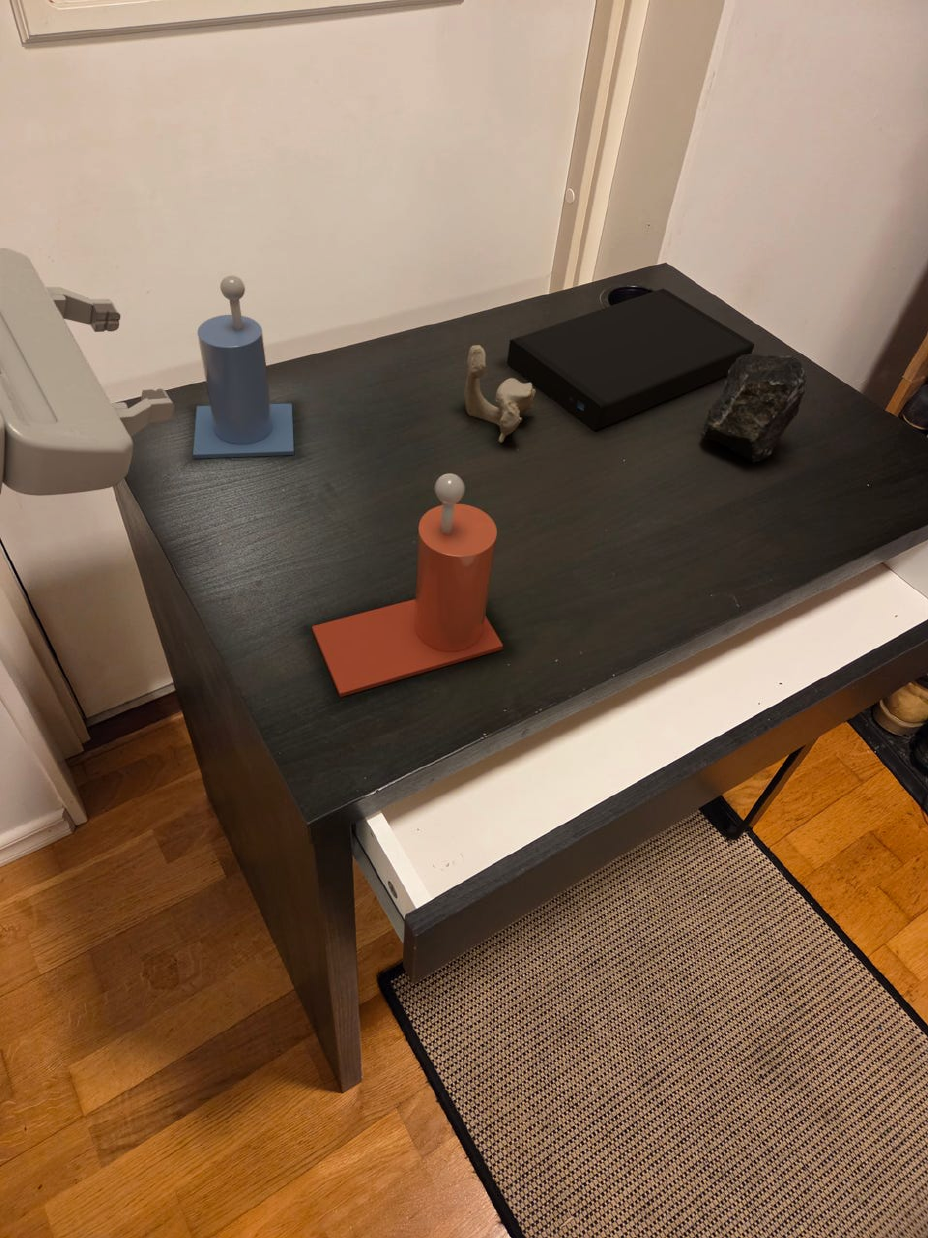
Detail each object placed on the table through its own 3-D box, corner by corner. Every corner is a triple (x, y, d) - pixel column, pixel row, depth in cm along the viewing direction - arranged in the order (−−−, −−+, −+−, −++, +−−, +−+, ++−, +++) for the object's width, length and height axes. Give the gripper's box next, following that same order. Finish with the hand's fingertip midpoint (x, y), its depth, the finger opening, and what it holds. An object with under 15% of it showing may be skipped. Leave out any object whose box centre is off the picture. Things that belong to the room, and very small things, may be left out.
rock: (786, 445, 86) (824, 356, 79) (759, 480, 82) (797, 390, 75) (714, 415, 89) (745, 326, 81) (685, 447, 85) (715, 357, 77)
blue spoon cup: (234, 451, 78) (210, 301, 67) (203, 423, 81) (175, 273, 70) (283, 430, 81) (269, 283, 70) (252, 403, 83) (233, 257, 72)
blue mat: (193, 458, 78) (192, 454, 77) (197, 410, 83) (196, 405, 82) (294, 455, 79) (293, 450, 79) (291, 407, 84) (291, 403, 84)
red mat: (339, 697, 61) (339, 693, 61) (312, 630, 65) (311, 626, 65) (502, 649, 65) (503, 645, 65) (466, 589, 69) (467, 584, 69)
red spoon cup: (418, 654, 64) (426, 505, 53) (410, 601, 67) (416, 451, 56) (489, 649, 65) (511, 501, 54) (477, 597, 68) (496, 448, 57)
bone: (566, 425, 83) (529, 354, 75) (514, 468, 83) (472, 401, 75) (521, 384, 88) (482, 313, 80) (473, 424, 88) (429, 357, 81)
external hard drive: (746, 368, 95) (754, 343, 93) (594, 432, 85) (600, 406, 83) (656, 311, 103) (662, 287, 100) (506, 363, 92) (509, 338, 90)
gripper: (-122, 300, 59) (82, 299, 68) (-18, 522, 53) (192, 489, 61) (-128, 218, 55) (91, 228, 63) (-16, 450, 48) (211, 425, 57)
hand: (142, 358), depth 62 cm, fingers open, 8 cm apart
